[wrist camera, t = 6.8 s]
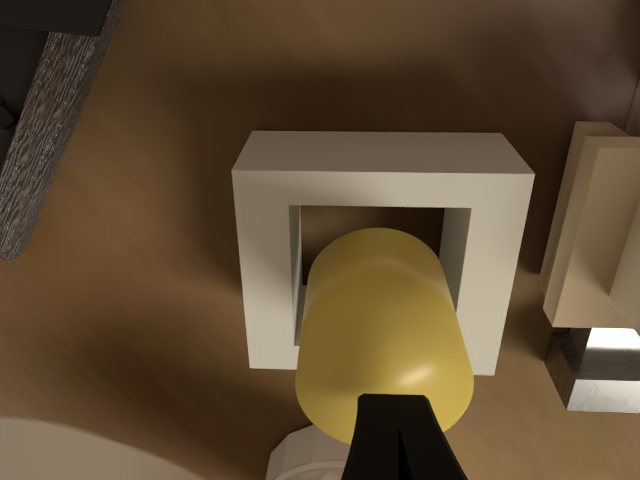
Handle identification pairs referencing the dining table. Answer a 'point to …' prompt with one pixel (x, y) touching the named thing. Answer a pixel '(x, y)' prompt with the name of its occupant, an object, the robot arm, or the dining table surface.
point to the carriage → (596, 233)
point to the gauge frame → (388, 191)
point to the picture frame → (43, 98)
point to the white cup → (308, 456)
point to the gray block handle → (598, 352)
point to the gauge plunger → (379, 331)
